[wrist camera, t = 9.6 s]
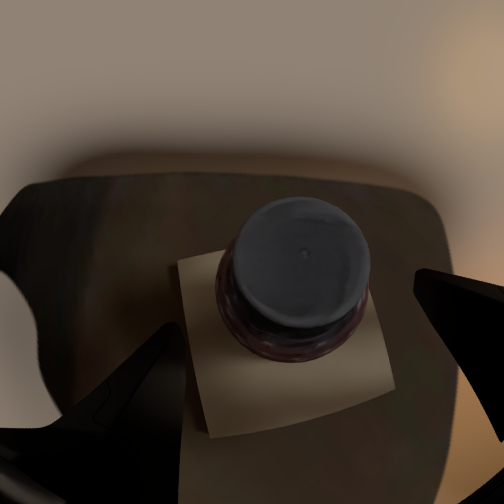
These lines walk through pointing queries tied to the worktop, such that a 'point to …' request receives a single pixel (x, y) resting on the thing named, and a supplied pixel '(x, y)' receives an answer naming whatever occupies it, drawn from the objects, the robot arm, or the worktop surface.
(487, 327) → the robot arm
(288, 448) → the worktop surface
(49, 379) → the worktop surface
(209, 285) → the beige square board
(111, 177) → the worktop surface
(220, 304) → the supplement bottle
